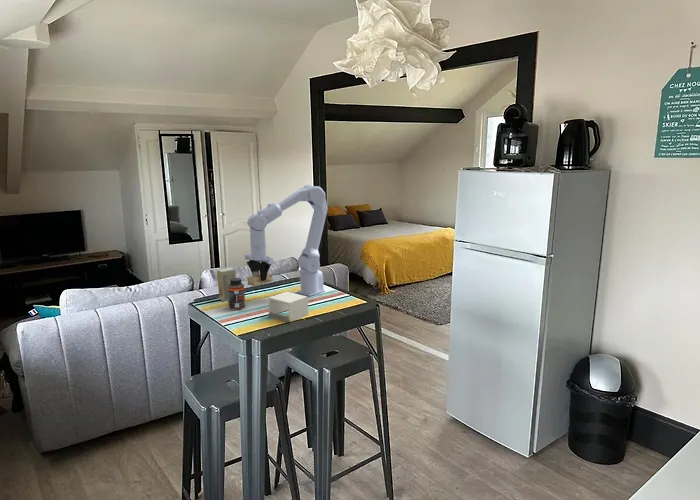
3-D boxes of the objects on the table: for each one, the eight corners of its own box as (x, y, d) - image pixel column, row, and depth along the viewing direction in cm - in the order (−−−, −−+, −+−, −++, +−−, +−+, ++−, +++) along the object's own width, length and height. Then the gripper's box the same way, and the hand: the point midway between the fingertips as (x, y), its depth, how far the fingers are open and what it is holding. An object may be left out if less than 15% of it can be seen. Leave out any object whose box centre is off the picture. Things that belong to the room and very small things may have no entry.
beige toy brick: (265, 279, 194) (264, 268, 193) (272, 281, 192) (271, 269, 191) (247, 284, 187) (247, 272, 186) (254, 286, 185) (253, 274, 184)
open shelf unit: (287, 309, 179) (287, 291, 178) (308, 314, 173) (307, 296, 172) (267, 316, 172) (267, 297, 171) (288, 322, 166) (287, 303, 164)
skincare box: (233, 296, 196) (231, 267, 194) (238, 298, 193) (236, 269, 190) (218, 299, 192) (216, 269, 190) (222, 301, 189) (220, 271, 187)
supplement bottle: (241, 311, 178) (239, 281, 176) (226, 310, 179) (224, 280, 177) (247, 305, 184) (246, 277, 181) (233, 305, 185) (231, 276, 183)
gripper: (237, 244, 188) (239, 278, 191) (262, 249, 179) (264, 284, 182) (252, 242, 193) (253, 274, 196) (276, 246, 184) (278, 280, 187)
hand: (259, 279), depth 189 cm, fingers closed on beige toy brick, 4 cm apart
